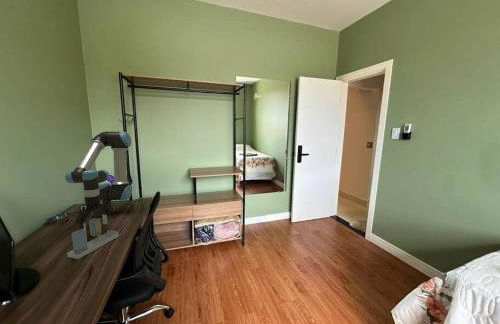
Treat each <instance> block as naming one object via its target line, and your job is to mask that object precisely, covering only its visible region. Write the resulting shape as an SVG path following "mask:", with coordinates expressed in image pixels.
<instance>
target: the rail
mask: <svg viewBox="0 0 500 324" xmlns="http://www.w3.org/2000/svg"><path fill="white" fill-rule="evenodd" d="M117 238H119V232H118V231H117V230H113V229H107V232H105V233H103V234H100V235H98V236H96V237H95V238H93V239H91V240H90V241H88V237H87V231H86V232H85V231H84V230H81V229H78V230H75V231H74V232H73V231H72V232H71V240H72V248H73V249H72V250H70V251H68V252H66V253H67V254H66V255H67V258H70V259H75V260H80V259H82V258H83V257H85V256H87V255H88V254H90V253H92V252H94V251H96V250H97V249H99V248H101V247H103V246H104V245H106V244H108V243H110V242H112V241H114V240H115V239H117Z"/></svg>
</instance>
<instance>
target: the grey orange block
mask: <svg viewBox="0 0 500 324" xmlns="http://www.w3.org/2000/svg"><path fill="white" fill-rule="evenodd" d="M88 223H89V224H88V225H89V236H91V237H95V238H97V237H98V235H103V234H102V223H101V218H100V217H93V218H92V219H89V220H88Z"/></svg>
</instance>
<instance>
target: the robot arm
mask: <svg viewBox="0 0 500 324" xmlns="http://www.w3.org/2000/svg"><path fill="white" fill-rule="evenodd" d="M131 146H132V138H131V136H130V133H128V132H127V131H121V130H120V131H106V130H105V131H103V132H100V133H98V134H96V135H95V136H94V137H92V138H91V140H90V142H89V146H88V147H87V150H86V151H85V152H84V154H83V156H82V157H81V159H80V161H79V162H78V163H77V165H76V166H75V168H74V170H71V171H70V170H69V171H67V172H66V173H65V176H64V177H65V178H64V179H65V181H66V183H69V184H82V187H83V196H84V198H83V199H84V204H85V205H84V206H82V205H81V206H79V211H78V215H77V216H76V220H75V222H74V223H75V224H76V225H79V230H84V231H85V232H86V233H87V227H86V226H87V225H86V222H85V221H86V220H87V218H88V217H89V215H90V213H91V216H92V217H93V218H100V217H101V216H102V217H101V218H102V224H103V225H108V216H110V215H113V214H114V213H115V212H116V210H115V209H116V208H115V206H114V204H113V203H112V201H125V200H129V199H130V198H131V197H132V193H133V186H132V185H131V184H130V182H129V181H128V167H127V161H128V160H127V151H128V150H129V147H131ZM107 147H110V149H111V150H112V151H113V180H114V181H112V183H111V184H110V183H109V182H108V183H107V182H106V181H107V180H109V178H110V173H109V171H107V170H105V169H100V170H96V169H92V167H93V165H94V164H95V162H96V161H97V159H98V158H99V155H100V154H101V152H102V151H103V150H104V149H105V148H107ZM103 182H106V183H103Z"/></svg>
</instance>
